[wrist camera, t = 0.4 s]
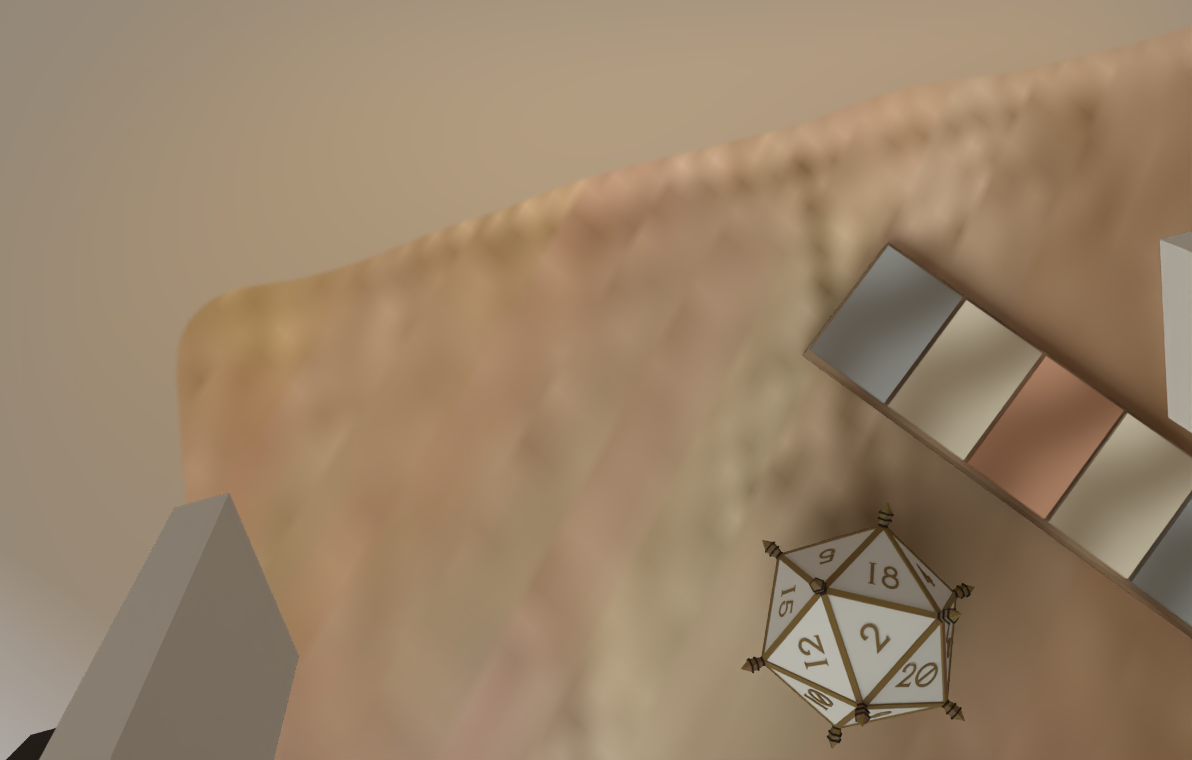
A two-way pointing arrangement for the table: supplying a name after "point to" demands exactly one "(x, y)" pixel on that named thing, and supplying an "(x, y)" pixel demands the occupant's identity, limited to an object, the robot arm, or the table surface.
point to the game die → (861, 628)
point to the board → (1019, 426)
